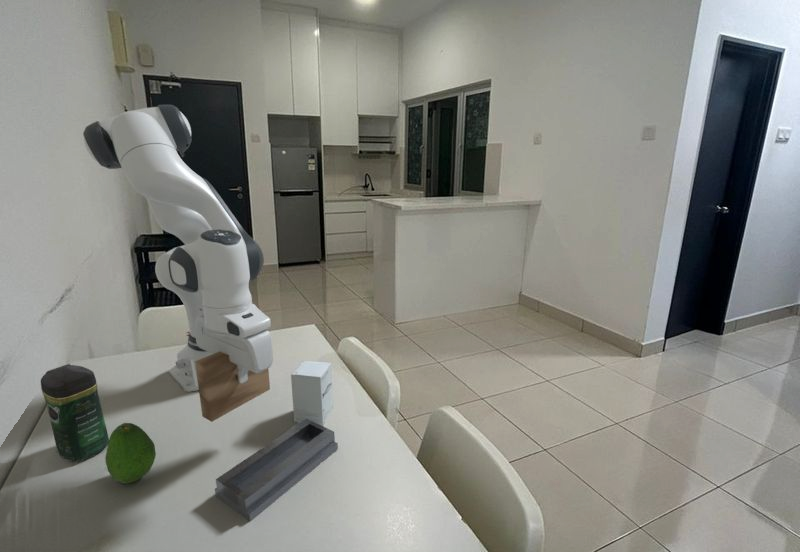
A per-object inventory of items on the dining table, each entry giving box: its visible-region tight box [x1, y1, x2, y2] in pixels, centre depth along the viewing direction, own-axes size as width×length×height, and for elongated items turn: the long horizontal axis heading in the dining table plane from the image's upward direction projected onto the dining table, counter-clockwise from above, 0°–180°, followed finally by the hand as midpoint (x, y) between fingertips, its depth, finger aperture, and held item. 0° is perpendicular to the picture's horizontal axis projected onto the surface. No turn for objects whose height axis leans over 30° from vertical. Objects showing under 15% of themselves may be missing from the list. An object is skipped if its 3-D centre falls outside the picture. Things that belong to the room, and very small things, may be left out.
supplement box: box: [290, 360, 334, 426], centre depth 98 cm, size 7×7×13 cm
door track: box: [214, 419, 339, 522], centre depth 81 cm, size 10×22×4 cm, turn 146°
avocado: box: [104, 422, 157, 484], centre depth 78 cm, size 8×8×12 cm
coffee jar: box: [40, 363, 110, 462], centre depth 86 cm, size 10×8×19 cm
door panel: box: [195, 351, 271, 423], centre depth 84 cm, size 3×14×12 cm, turn 147°
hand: (235, 377), depth 84 cm, fingers closed on door panel, 3 cm apart
